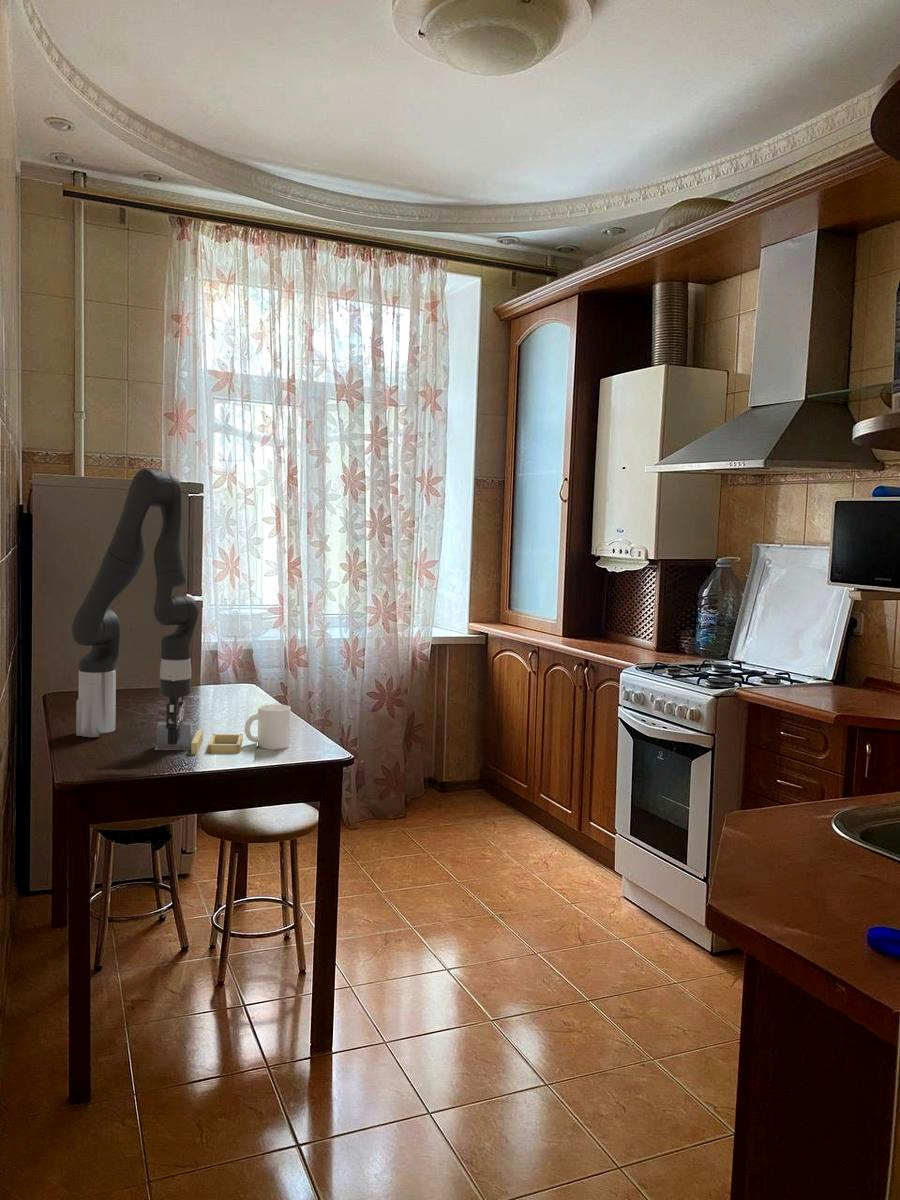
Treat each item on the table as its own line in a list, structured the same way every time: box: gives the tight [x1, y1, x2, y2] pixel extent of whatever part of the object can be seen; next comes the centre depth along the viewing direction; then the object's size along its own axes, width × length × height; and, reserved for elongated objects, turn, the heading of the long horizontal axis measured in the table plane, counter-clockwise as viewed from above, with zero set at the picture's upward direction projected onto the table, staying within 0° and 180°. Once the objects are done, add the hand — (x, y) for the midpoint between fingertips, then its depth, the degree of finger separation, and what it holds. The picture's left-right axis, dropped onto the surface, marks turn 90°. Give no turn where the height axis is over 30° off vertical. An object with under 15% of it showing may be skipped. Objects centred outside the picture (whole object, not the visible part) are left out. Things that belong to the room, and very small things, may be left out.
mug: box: [244, 703, 292, 751], centre depth 241 cm, size 12×8×10 cm
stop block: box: [156, 721, 193, 749], centre depth 234 cm, size 8×4×6 cm, turn 99°
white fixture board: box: [154, 729, 244, 755], centre depth 235 cm, size 22×14×4 cm, turn 99°
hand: (174, 740), depth 234 cm, fingers open, 8 cm apart
